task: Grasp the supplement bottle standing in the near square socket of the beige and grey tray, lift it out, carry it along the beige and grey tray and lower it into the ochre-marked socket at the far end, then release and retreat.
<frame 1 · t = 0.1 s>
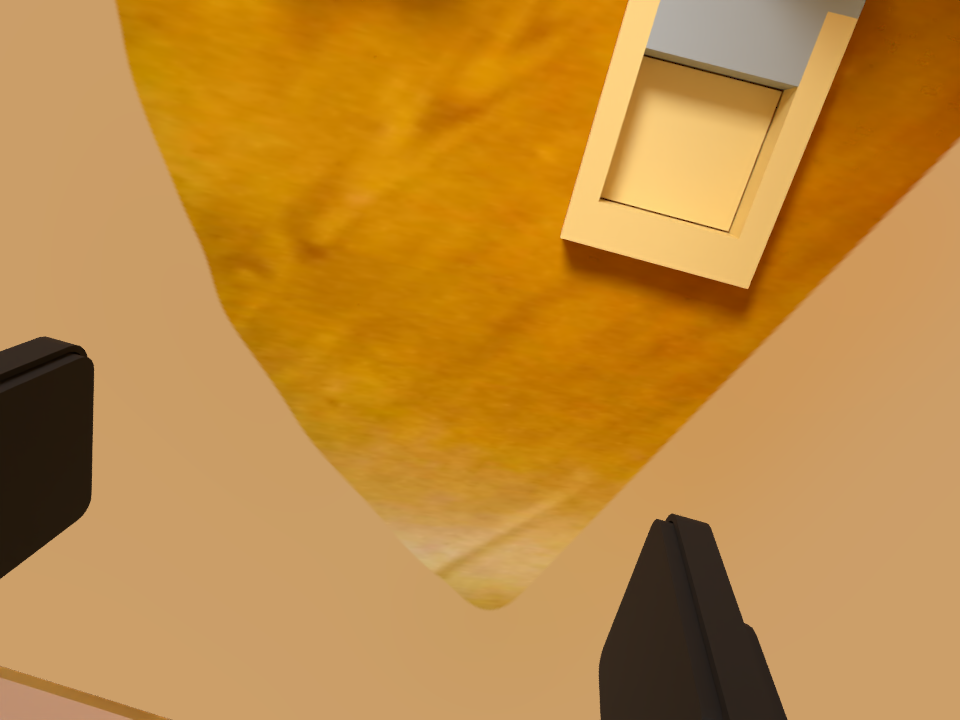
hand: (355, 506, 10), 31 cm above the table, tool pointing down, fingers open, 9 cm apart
beige and grey tray: (736, 1, 34), on the table
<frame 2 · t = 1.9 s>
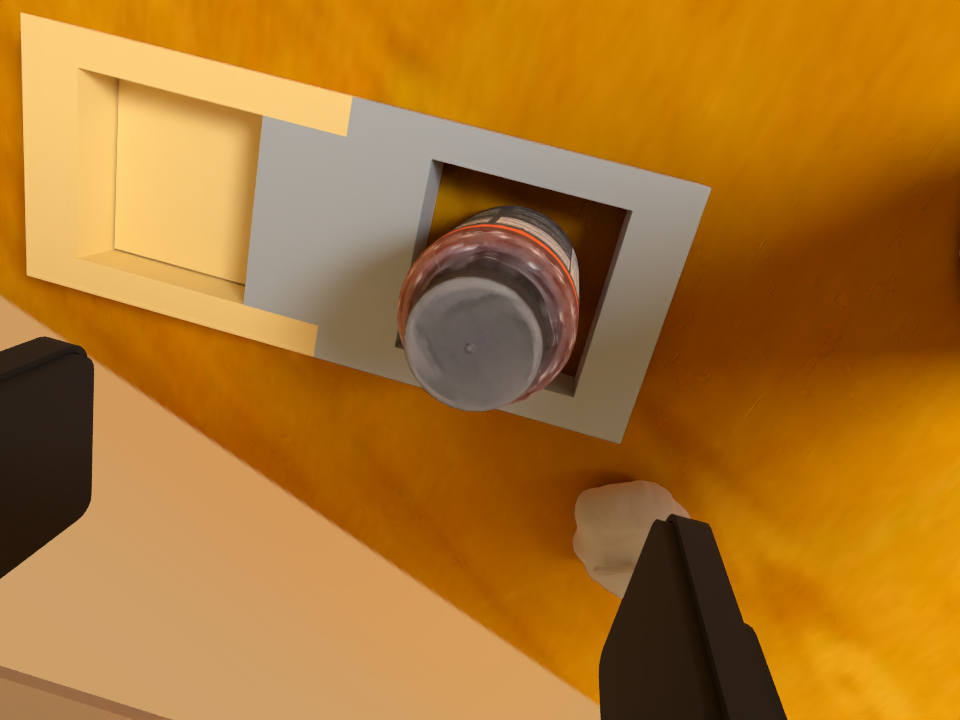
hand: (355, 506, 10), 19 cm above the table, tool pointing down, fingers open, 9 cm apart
supplement bottle: (513, 270, 28), resting in beige and grey tray
beige and grey tray: (352, 228, 29), on the table
garlic: (629, 508, 31), on the table
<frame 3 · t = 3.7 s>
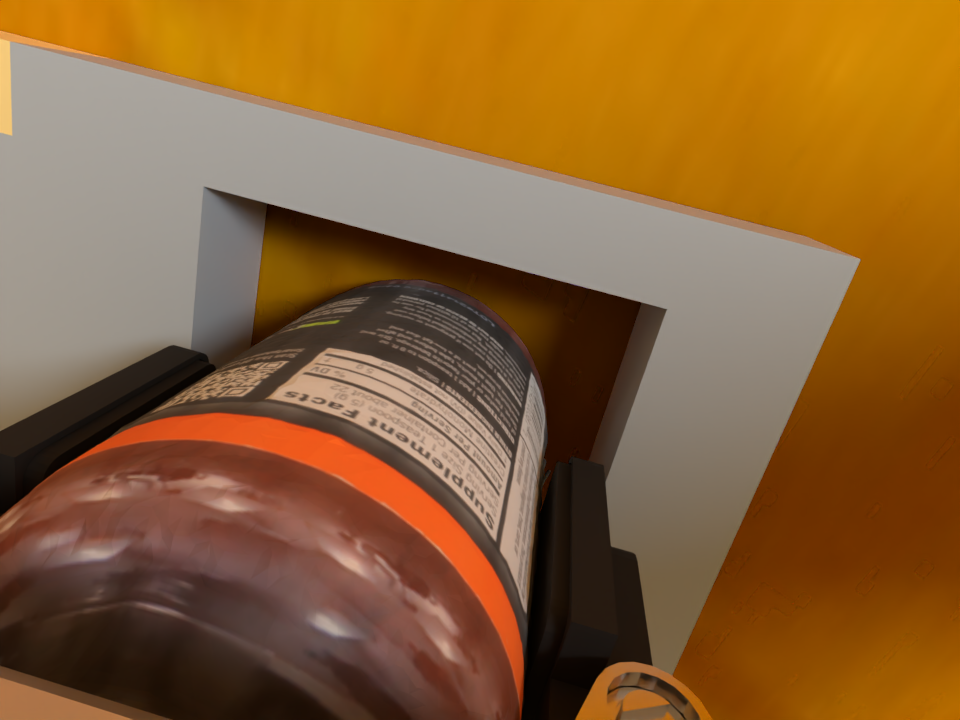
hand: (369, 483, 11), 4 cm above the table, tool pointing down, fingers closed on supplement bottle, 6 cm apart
supplement bottle: (420, 399, 14), resting in beige and grey tray, touching gripper
beige and grey tray: (106, 315, 15), on the table
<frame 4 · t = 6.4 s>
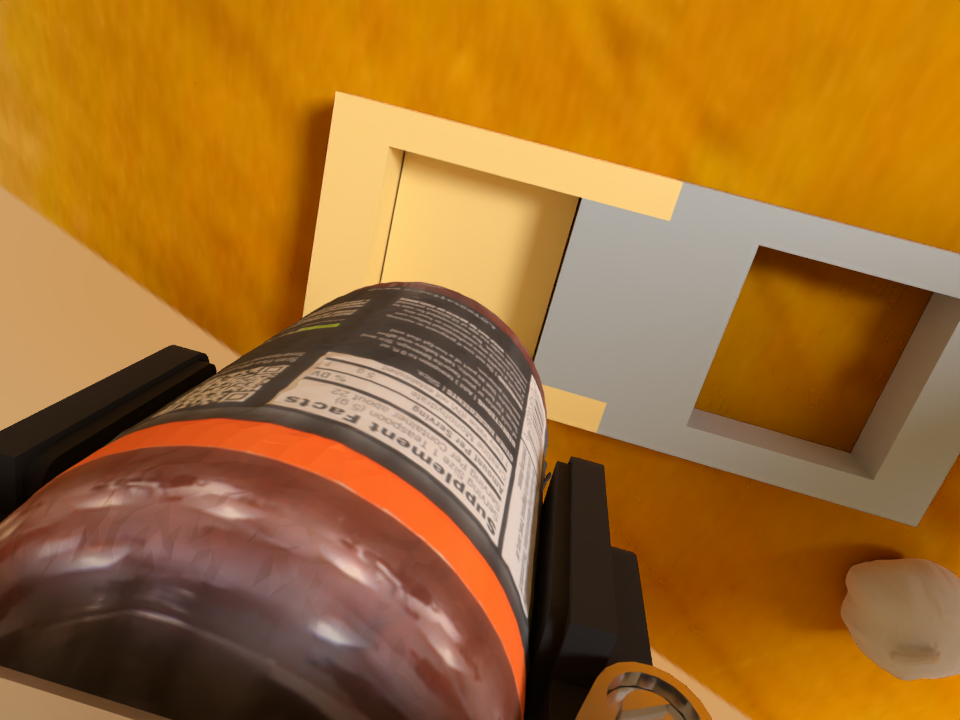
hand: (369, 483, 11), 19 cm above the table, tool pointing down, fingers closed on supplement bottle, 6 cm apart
supplement bottle: (420, 401, 14), point 15 cm above the table, touching gripper
beige and grey tray: (632, 302, 28), on the table
garlic: (886, 581, 31), on the table
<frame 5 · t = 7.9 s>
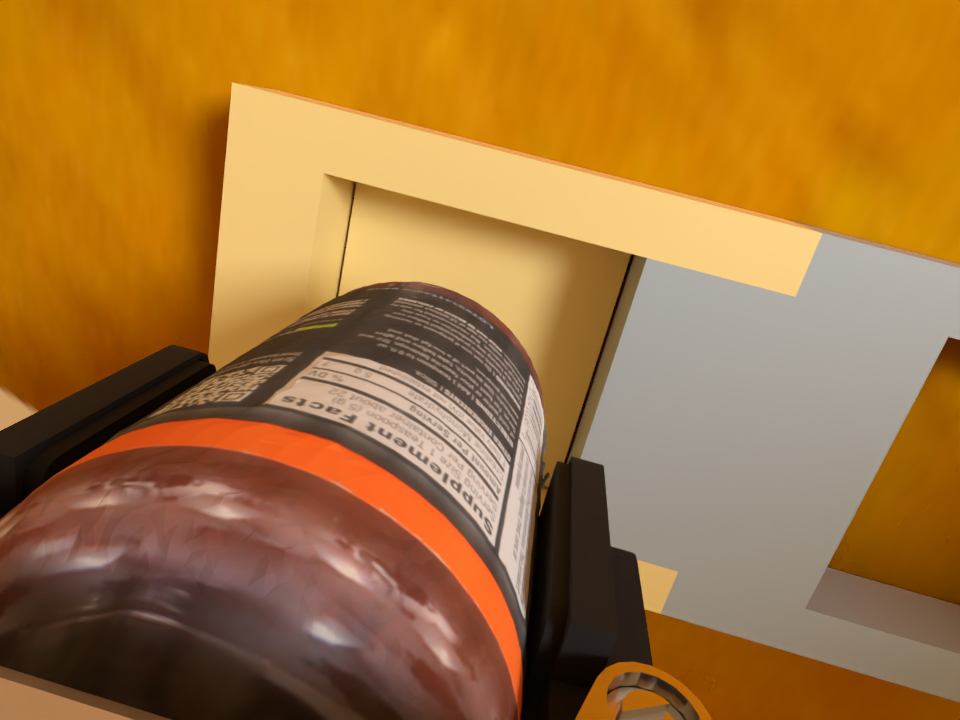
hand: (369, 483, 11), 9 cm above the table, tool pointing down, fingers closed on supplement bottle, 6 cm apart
supplement bottle: (419, 401, 14), point 5 cm above the table, touching gripper
beige and grey tray: (712, 407, 18), on the table
when the fingers open (5 cm above the table, at t = 8.9 s): supplement bottle drops 1 cm, resting on beige and grey tray.
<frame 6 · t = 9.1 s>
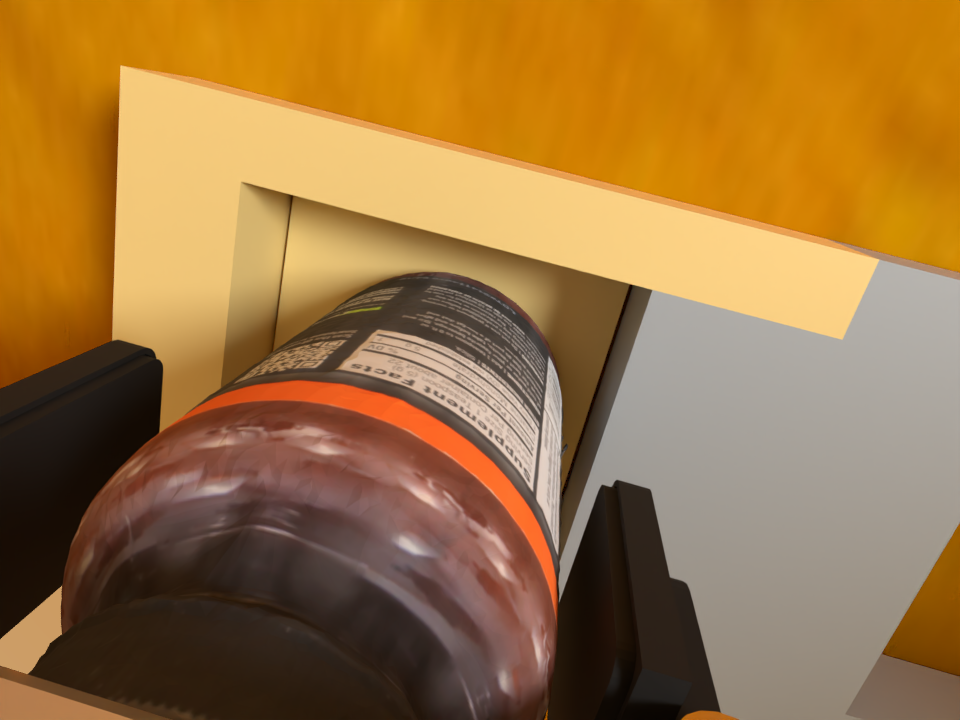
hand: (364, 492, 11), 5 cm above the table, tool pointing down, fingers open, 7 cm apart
supplement bottle: (443, 383, 16), resting on beige and grey tray
beige and grey tray: (729, 463, 15), on the table
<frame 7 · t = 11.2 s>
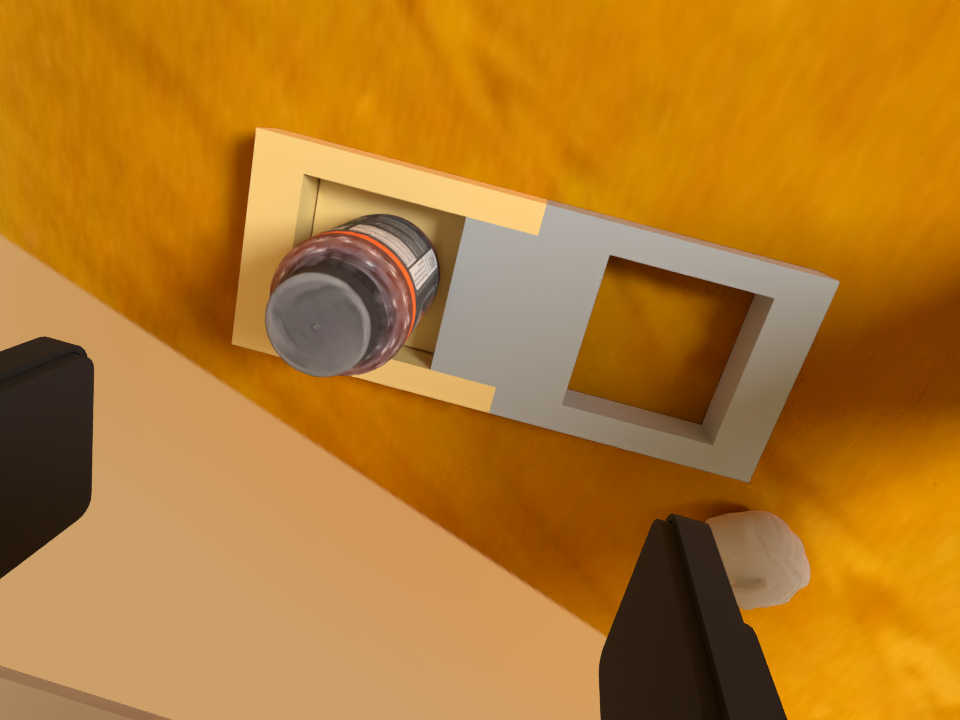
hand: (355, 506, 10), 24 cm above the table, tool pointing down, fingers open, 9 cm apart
supplement bottle: (388, 267, 34), resting on beige and grey tray
beige and grey tray: (518, 302, 34), on the table
garlic: (738, 532, 37), on the table
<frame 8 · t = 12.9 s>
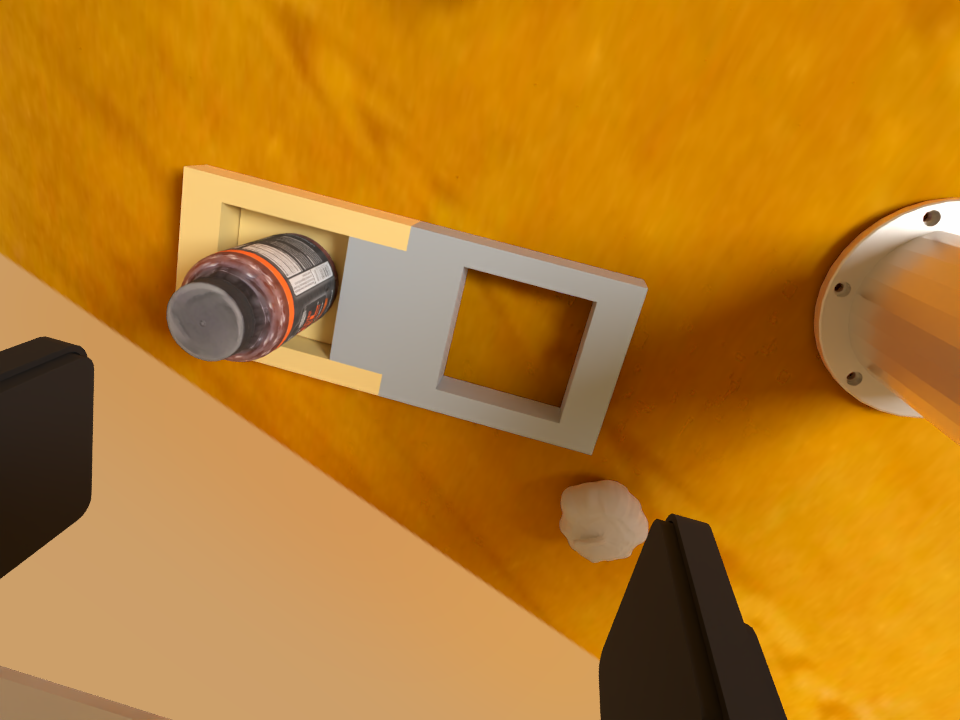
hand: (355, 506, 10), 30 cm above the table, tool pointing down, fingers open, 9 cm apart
supplement bottle: (299, 276, 41), resting on beige and grey tray
beige and grey tray: (404, 305, 41), on the table
garlic: (599, 500, 44), on the table
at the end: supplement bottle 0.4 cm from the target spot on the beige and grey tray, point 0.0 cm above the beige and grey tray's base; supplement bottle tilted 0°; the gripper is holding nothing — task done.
